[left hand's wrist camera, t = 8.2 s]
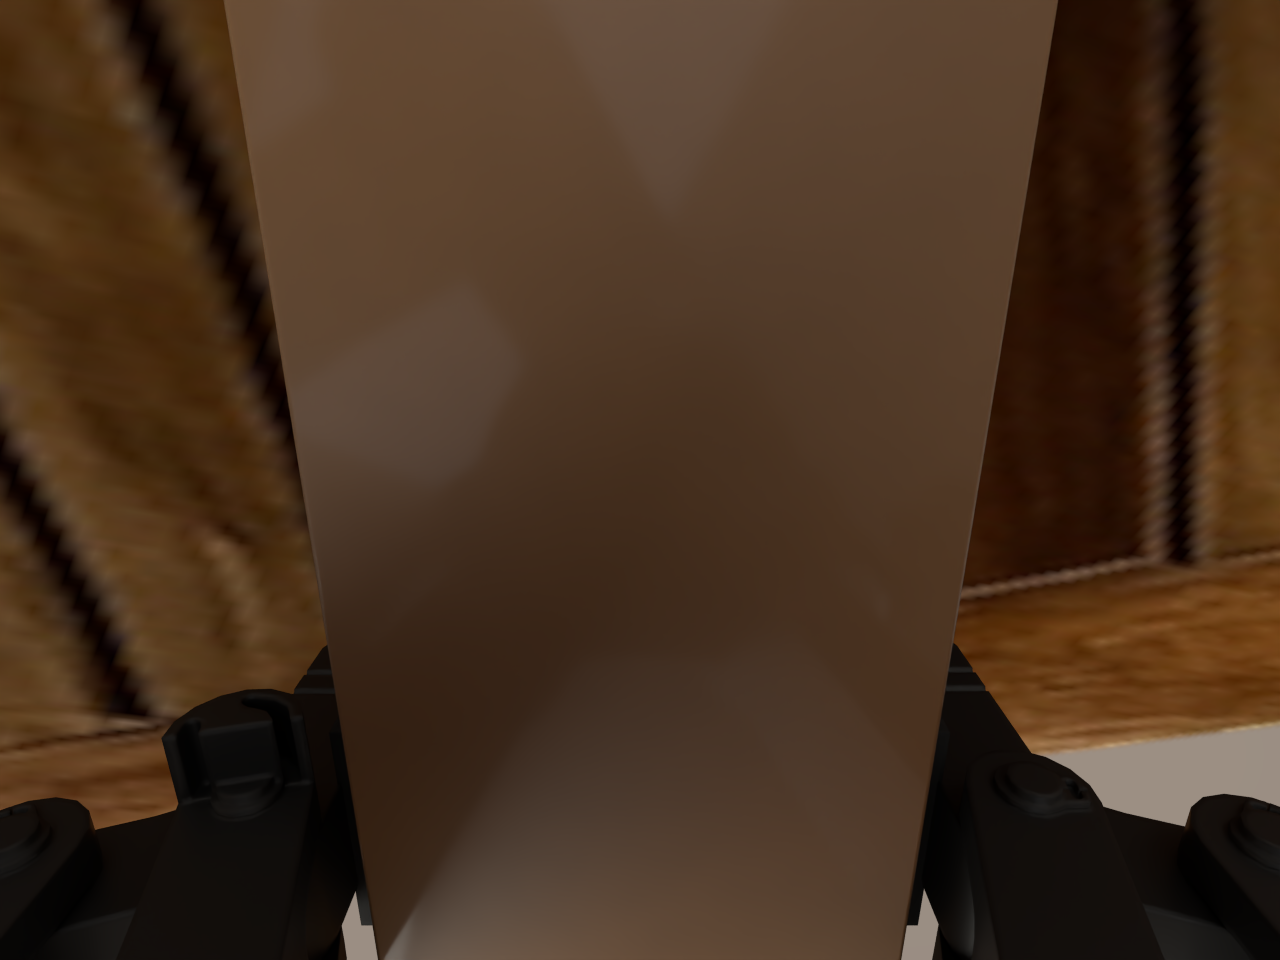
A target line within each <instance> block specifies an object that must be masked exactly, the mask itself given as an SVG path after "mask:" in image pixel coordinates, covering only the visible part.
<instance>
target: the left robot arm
mask: <svg viewBox="0 0 1280 960" xmlns="http://www.w3.org/2000/svg"><path fill="white" fill-rule="evenodd" d="M162 742H163V746H164V750H165V754H166V757H167V761H168V765H169V769H170V773H171V777H172V780H173V784H174V788H175V792H176V796H177V800H178V803H179V804H178V806H177V809H176V810H175V811H171V812H168V813H164V814H161V815H158V816H154V817H150V818H145V819H141V820H137V821H132V822H128V823H123V824H119V825H115V826H110V827H106V828H101V829H97V830H95V829H94V825H93V822H92V819H91V816H90V813H89V810H87V809H86V808H85V807H84V806H83V805H82V804H80V803H79V802H78V801H76V800H70V799H63V798H57V797H55V798H47V799H40V800H33V801H27V802H24V803H21V804H18V805H14V806H12V807H8V808H6V809H3V810H0V960H347V957H346V950H345V942H344V936H343V931H342V923H343V921H344V918H345V916H346V913H347V911H348V908H349V906H350V903H351V901H352V898H353V896H354V894H355V891H356V896H357V902H358V908H359V914H360V920H361V925H372V919H371V912H370V906H369V900H368V894H367V887H366V881H365V875H364V869H363V863H362V856H361V850H360V844H359V838H358V832H357V825H356V819H355V813H354V807H353V800H352V794H351V788H350V782H349V776H348V769H347V763H346V757H345V751H344V744H343V738H342V732H341V726H340V720H339V713H338V707H337V701H336V695H335V689H334V682H333V676H332V670H331V664H330V657H329V651H328V645H327V646H325V647H324V648H322V650H321V651H320V653H319V654H318V656H317V657H316V659H315V660H314V661H313V663H312V664H311V666H310V667H309V669H308V670H307V675H304V676H303V677H302V679H301V680H300V682H299V683H298V685H297V686H296V688H295V689H294V694H290V693H286V692H282V691H277V690H273V689H252V690H243V691H239V692H235V693H231V694H226V695H222V696H219V697H217V698H215V699H212V700H210V701H208V702H205V703H203V704H201V705H199V706H196V707H194V708H193V709H192V710H190V711H189V712H187V713H186V714H185V715H183V716H182V717H180V718H179V719H177V720H176V721H175V722H174V723H173V724H172V725H171V727H170V728H169V729H168V730H167V732H166V733H165V734H164V735H163V737H162ZM924 889H925V892H926V894H927V897H928V899H929V902H930V904H931V907H932V909H933V911H934V914H935V916H936V919H937V921H938V924H939V925H938V931H937V936H936V942H935V947H934V953H933V958H932V960H1280V807H1279V806H1276V805H1273V804H1271V803H1267V802H1264V801H1261V800H1258V799H1255V798H1251V797H1244V796H1236V795H1229V794H1220V795H1214V796H1207V797H1203V798H1201V799H1200V800H1199V801H1198V802H1197V803H1195V804H1194V805H1193V806H1192V807H1191V809H1190V812H1189V816H1188V819H1187V822H1186V825H1185V827H1184V826H1180V825H1176V824H1171V823H1166V822H1162V821H1158V820H1153V819H1149V818H1144V817H1140V816H1136V815H1131V814H1127V813H1123V812H1120V811H1116V810H1113V809H1109V808H1106V807H1103V805H1102V802H1101V801H1100V800H1099V798H1098V797H1097V795H1096V794H1095V792H1094V791H1093V789H1092V788H1091V786H1090V785H1089V784H1088V783H1087V782H1085V781H1084V780H1083V779H1082V778H1080V777H1079V776H1078V775H1077V774H1075V773H1074V772H1073V771H1072V770H1071V769H1069V768H1067V767H1065V766H1063V765H1061V764H1059V763H1057V762H1055V761H1053V760H1051V759H1049V758H1047V757H1044V756H1040V755H1036V754H1032V753H1031V752H1030V751H1029V749H1028V748H1027V746H1026V745H1025V743H1024V742H1023V740H1022V739H1021V738H1020V736H1019V735H1018V733H1017V732H1016V730H1015V729H1014V727H1013V726H1012V725H1011V723H1010V722H1009V720H1008V719H1007V717H1006V716H1005V714H1004V713H1003V712H1002V710H1001V709H1000V707H999V706H998V704H997V703H996V701H995V700H994V698H993V697H992V696H991V694H990V693H989V691H986V690H985V685H984V684H983V683H982V681H981V680H980V678H979V677H978V675H977V674H976V672H973V671H972V667H971V665H970V664H969V662H968V661H967V659H966V658H965V657H964V655H963V654H962V652H961V651H960V649H959V648H958V646H957V645H955V644H954V643H953V646H952V652H951V658H950V664H949V670H948V676H947V682H946V688H945V694H944V701H943V707H942V713H941V719H940V725H939V731H938V737H937V743H936V749H935V756H934V762H933V768H932V774H931V780H930V786H929V792H928V798H927V804H926V811H925V817H924V823H923V829H922V835H921V841H920V847H919V853H918V859H917V866H916V872H915V878H914V884H913V890H912V896H911V902H910V908H909V914H908V921H907V925H918V921H919V915H920V909H921V903H922V897H923V891H924Z"/></svg>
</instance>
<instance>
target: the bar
mask: <svg viewBox="0 0 1280 960" xmlns="http://www.w3.org/2000/svg"><path fill="white" fill-rule="evenodd" d="M1057 4H1058V0H224V5H225V11H226V17H227V23H228V30H229V36H230V42H231V48H232V54H233V61H234V67H235V73H236V79H237V85H238V92H239V98H240V104H241V110H242V117H243V123H244V129H245V135H246V141H247V148H248V154H249V160H250V166H251V172H252V179H253V185H254V191H255V197H256V204H257V210H258V216H259V222H260V228H261V235H262V241H263V247H264V253H265V260H266V266H267V272H268V278H269V284H270V291H271V297H272V303H273V309H274V315H275V322H276V328H277V334H278V340H279V347H280V353H281V359H282V365H283V371H284V378H285V384H286V390H287V396H288V403H289V409H290V415H291V421H292V427H293V434H294V440H295V446H296V452H297V458H298V465H299V471H300V477H301V483H302V490H303V496H304V502H305V508H306V514H307V521H308V527H309V533H310V539H311V546H312V552H313V558H314V564H315V570H316V577H317V583H318V589H319V595H320V601H321V608H322V614H323V620H324V626H325V633H326V639H327V645H328V651H329V657H330V664H331V670H332V676H333V682H334V689H335V695H336V701H337V707H338V713H339V720H340V726H341V732H342V738H343V744H344V751H345V757H346V763H347V769H348V776H349V782H350V788H351V794H352V800H353V807H354V813H355V819H356V825H357V832H358V838H359V844H360V850H361V856H362V863H363V869H364V875H365V881H366V887H367V894H368V900H369V906H370V912H371V919H372V925H373V931H374V937H375V943H376V950H377V956H378V960H901V957H902V951H903V945H904V939H905V933H906V927H907V921H908V914H909V908H910V902H911V896H912V890H913V884H914V878H915V872H916V866H917V859H918V853H919V847H920V841H921V835H922V829H923V823H924V817H925V811H926V804H927V798H928V792H929V786H930V780H931V774H932V768H933V762H934V756H935V749H936V743H937V737H938V731H939V725H940V719H941V713H942V707H943V701H944V694H945V688H946V682H947V676H948V670H949V664H950V658H951V652H952V646H953V639H954V633H955V627H956V621H957V615H958V609H959V603H960V597H961V591H962V584H963V578H964V572H965V566H966V560H967V554H968V548H969V542H970V536H971V529H972V523H973V517H974V511H975V505H976V499H977V493H978V487H979V481H980V474H981V468H982V462H983V456H984V450H985V444H986V438H987V432H988V426H989V419H990V413H991V407H992V401H993V395H994V389H995V383H996V377H997V371H998V364H999V358H1000V352H1001V346H1002V340H1003V334H1004V328H1005V322H1006V316H1007V309H1008V303H1009V297H1010V291H1011V285H1012V279H1013V273H1014V267H1015V260H1016V254H1017V248H1018V242H1019V236H1020V230H1021V224H1022V218H1023V212H1024V205H1025V199H1026V193H1027V187H1028V181H1029V175H1030V169H1031V163H1032V157H1033V150H1034V144H1035V138H1036V132H1037V126H1038V120H1039V114H1040V108H1041V102H1042V95H1043V89H1044V83H1045V77H1046V71H1047V65H1048V59H1049V53H1050V47H1051V40H1052V34H1053V28H1054V22H1055V16H1056V10H1057Z"/></svg>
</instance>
